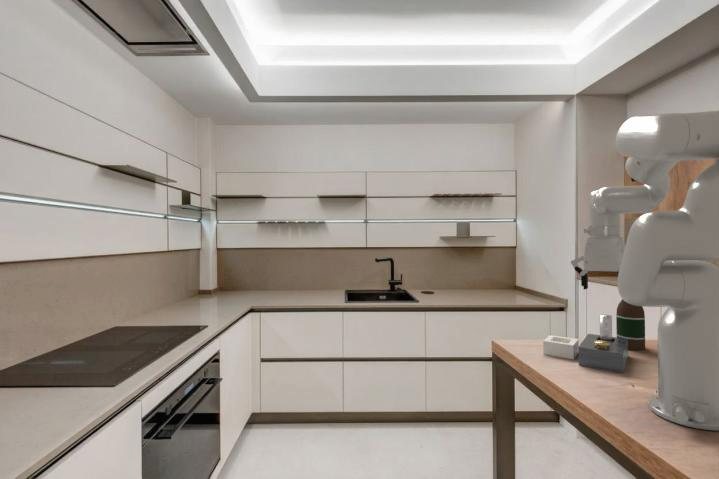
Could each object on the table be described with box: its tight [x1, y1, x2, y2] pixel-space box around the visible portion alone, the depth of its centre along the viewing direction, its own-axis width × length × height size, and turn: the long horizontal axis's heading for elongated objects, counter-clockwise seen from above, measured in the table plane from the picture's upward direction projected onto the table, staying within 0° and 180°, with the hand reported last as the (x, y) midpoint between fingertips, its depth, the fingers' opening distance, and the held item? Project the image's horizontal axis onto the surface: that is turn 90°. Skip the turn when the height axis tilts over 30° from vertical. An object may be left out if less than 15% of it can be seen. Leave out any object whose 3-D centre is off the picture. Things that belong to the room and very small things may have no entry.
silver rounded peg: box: [599, 314, 613, 342], centre depth 108 cm, size 3×3×12 cm
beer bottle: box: [615, 298, 646, 352], centre depth 116 cm, size 8×8×24 cm
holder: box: [542, 334, 580, 360], centre depth 112 cm, size 8×8×5 cm
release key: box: [594, 340, 610, 349], centre depth 102 cm, size 4×4×6 cm
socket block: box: [578, 333, 629, 374], centre depth 105 cm, size 17×10×6 cm, turn 140°
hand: (604, 290), depth 109 cm, fingers open, 9 cm apart
